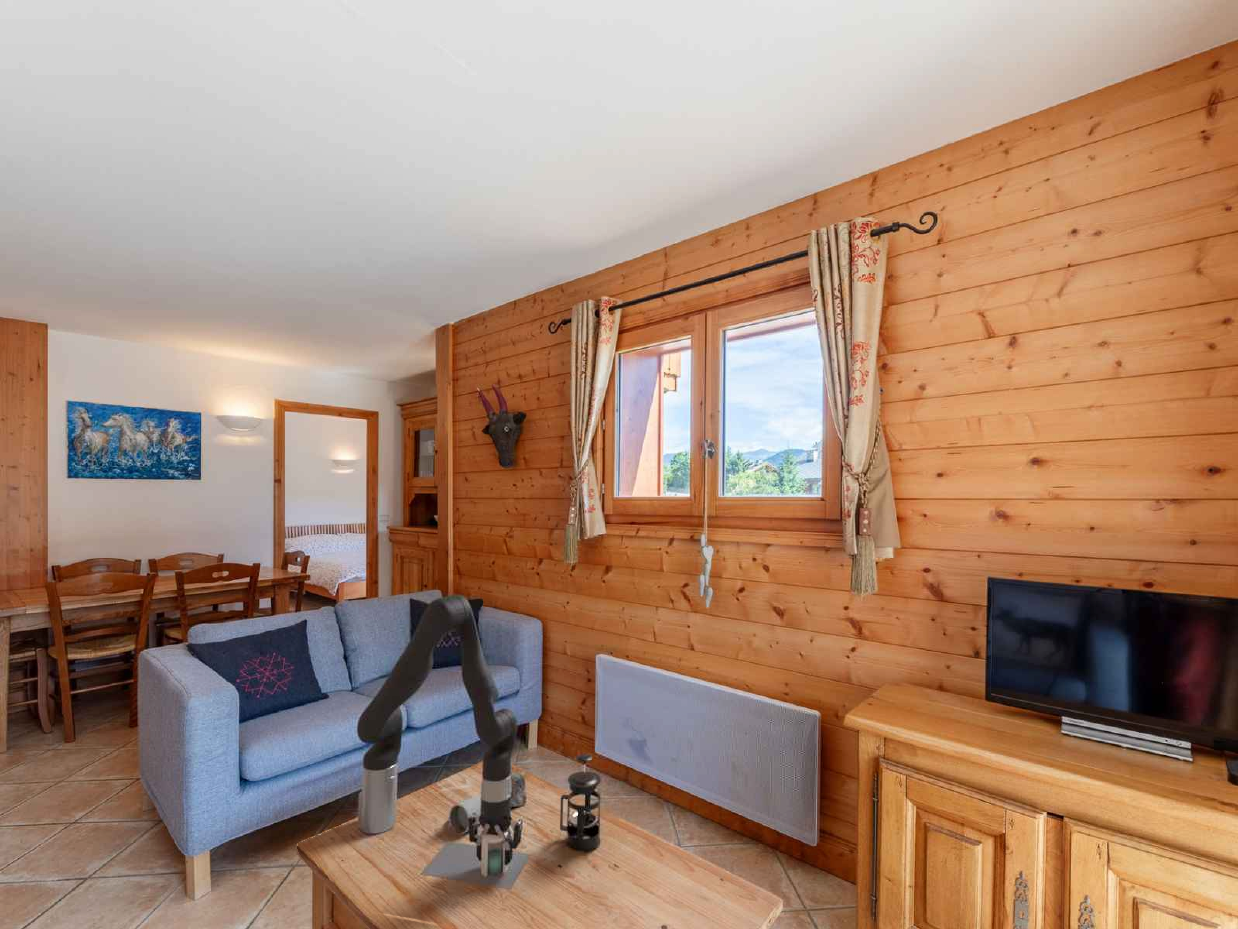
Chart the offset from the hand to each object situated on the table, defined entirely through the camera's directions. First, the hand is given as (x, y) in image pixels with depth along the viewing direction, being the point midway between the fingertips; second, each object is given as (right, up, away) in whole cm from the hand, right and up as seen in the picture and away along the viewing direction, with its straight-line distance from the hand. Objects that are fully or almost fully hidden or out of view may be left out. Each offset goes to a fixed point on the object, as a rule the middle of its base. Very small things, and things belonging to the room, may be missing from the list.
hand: (494, 861), depth 150 cm
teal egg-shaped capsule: (0, -2, 0) cm, 2 cm away
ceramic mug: (-13, -3, +19) cm, 23 cm away
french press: (+21, -4, +13) cm, 25 cm away
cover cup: (0, -2, 0) cm, 2 cm away
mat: (-5, -2, +2) cm, 6 cm away
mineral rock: (-4, -4, +32) cm, 32 cm away
